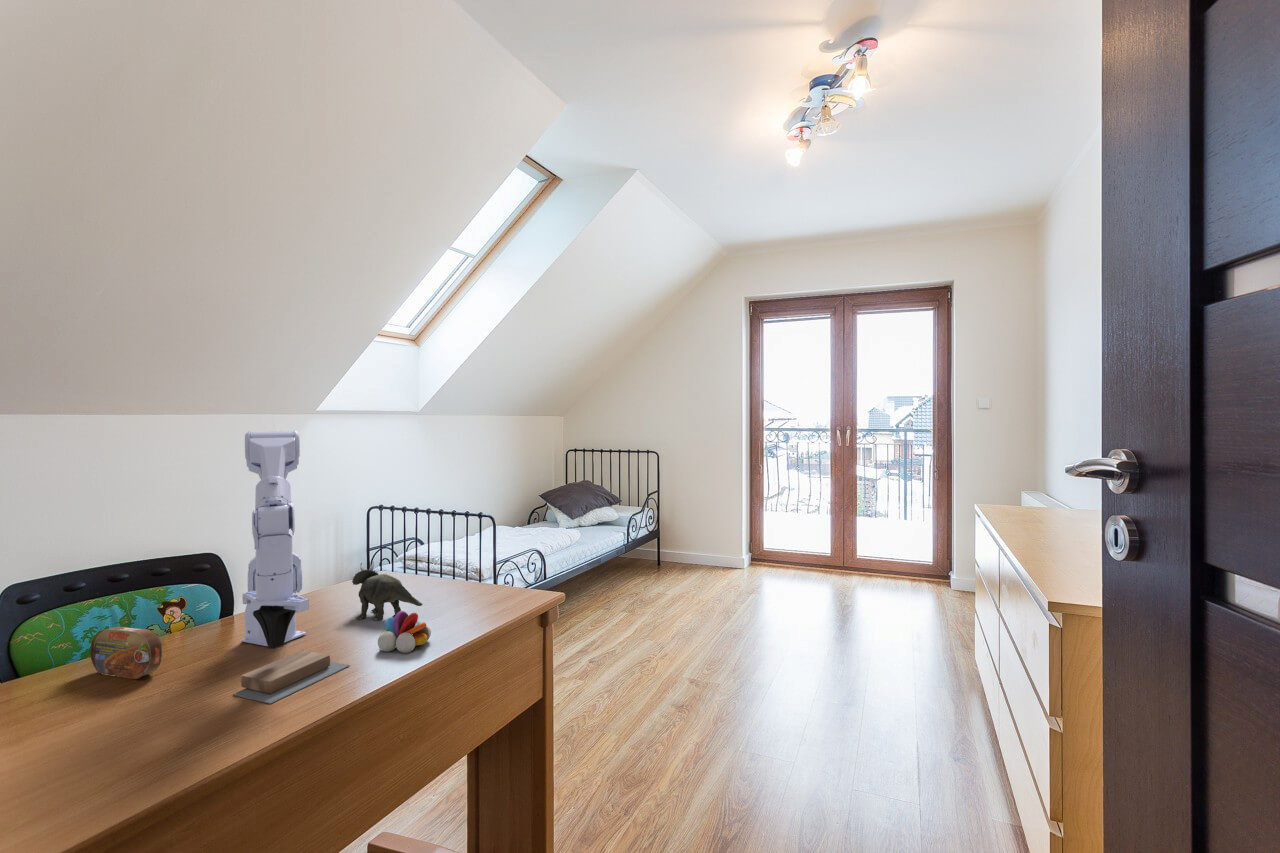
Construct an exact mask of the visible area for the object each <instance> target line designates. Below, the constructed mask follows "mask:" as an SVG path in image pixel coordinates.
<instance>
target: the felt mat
mask: <svg viewBox="0 0 1280 853" xmlns="http://www.w3.org/2000/svg"><path fill="white" fill-rule="evenodd" d="M350 666H351V665H350V664H346V663H341V662H336V661H331V660H330V666H328V667H326V668H325V669H323V670H320V671H318V672H316V673H314V674H312V675H310V676H307V677H305V678H303V679H301V680H299V681H297V682H294V683H292V684H290V685H288V686H286V687H284V688H281V689H279V690H277V691H275V692H273V693H266V692H261V691H257V690H253V689H248V688H243V689H241V690H239V691H237V692H234V693H232V696H235V697H238V698H243V699H248V700H252V701H256V702H260V703H265V704H267V705H268V704H269V705H273V704H274V703H276V702H278V701H280V700H282V699H284V698H286V697H288V696H290V695H293V694H295V693H297V692H299V691H301V690H303V689H305V688H307V687H309V686H311V685H313V684H316V683H318V682H319V681H322V680H324V679H325V678H328V677H330V676H332V675H335V674H337V673H338V672H341V671H343V670H344V669H347V668H349V667H350Z"/></svg>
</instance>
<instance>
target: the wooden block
mask: <svg viewBox="0 0 1280 853" xmlns="http://www.w3.org/2000/svg"><path fill="white" fill-rule="evenodd" d="M330 661H331V655H330V654H327V653H320V652H315V651H310V650H305V649H304V650H303V649H302V650H300V651H297V652H294V653H293V654H290V655H288V656H286V657H283V658H280V659H278V660H276V661H272V662H271V663H269V664H266V665H263V666H261V667H259V668H256V669H253V670H251V671H248V672H246V673H244V674H241V676H240V677H241V678H240V679H241V680H240V682H241V688H243V689H246V688H248V689H253V690H257V691H261V692H266V693H273V692H275V691H277V690H279V689H281V688H284V687H286V686H288V685H290V684H292V683H294V682H297V681H299V680H301V679H303V678H305V677H307V676H310V675H312V674H314V673H316V672H318V671H320V670H323V669H325V668H326V667H328V666H330Z"/></svg>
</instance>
